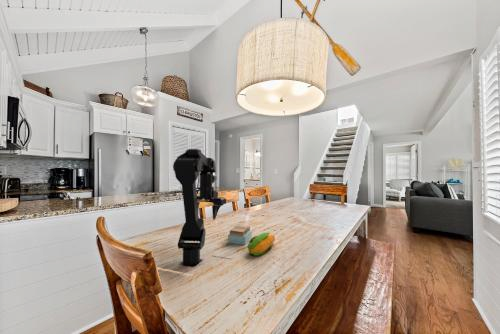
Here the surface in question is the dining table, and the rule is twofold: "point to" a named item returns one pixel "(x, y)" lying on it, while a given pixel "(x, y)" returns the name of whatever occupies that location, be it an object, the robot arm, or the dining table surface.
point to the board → (239, 230)
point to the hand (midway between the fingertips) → (205, 218)
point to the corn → (260, 243)
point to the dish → (240, 238)
